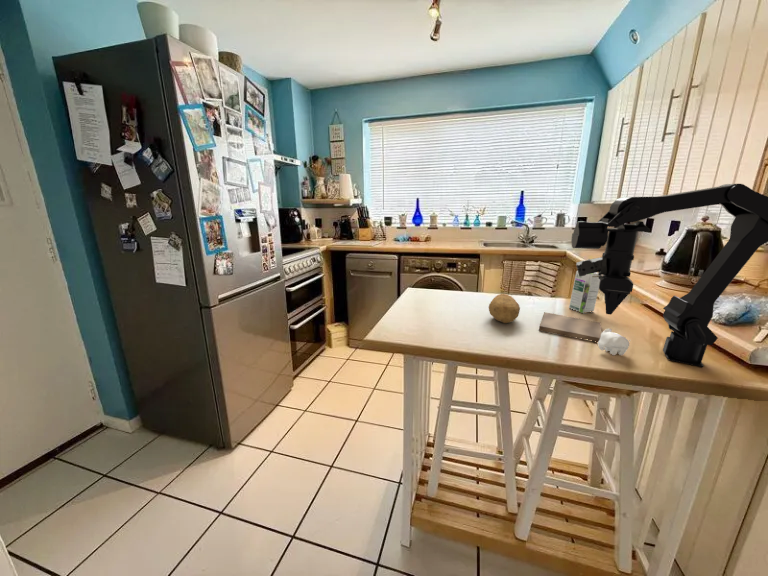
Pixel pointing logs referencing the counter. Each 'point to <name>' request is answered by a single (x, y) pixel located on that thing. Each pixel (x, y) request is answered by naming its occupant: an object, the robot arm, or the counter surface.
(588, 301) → the syrup box
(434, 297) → the counter surface
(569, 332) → the walnut board
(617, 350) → the elephant figurine
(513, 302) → the potato
